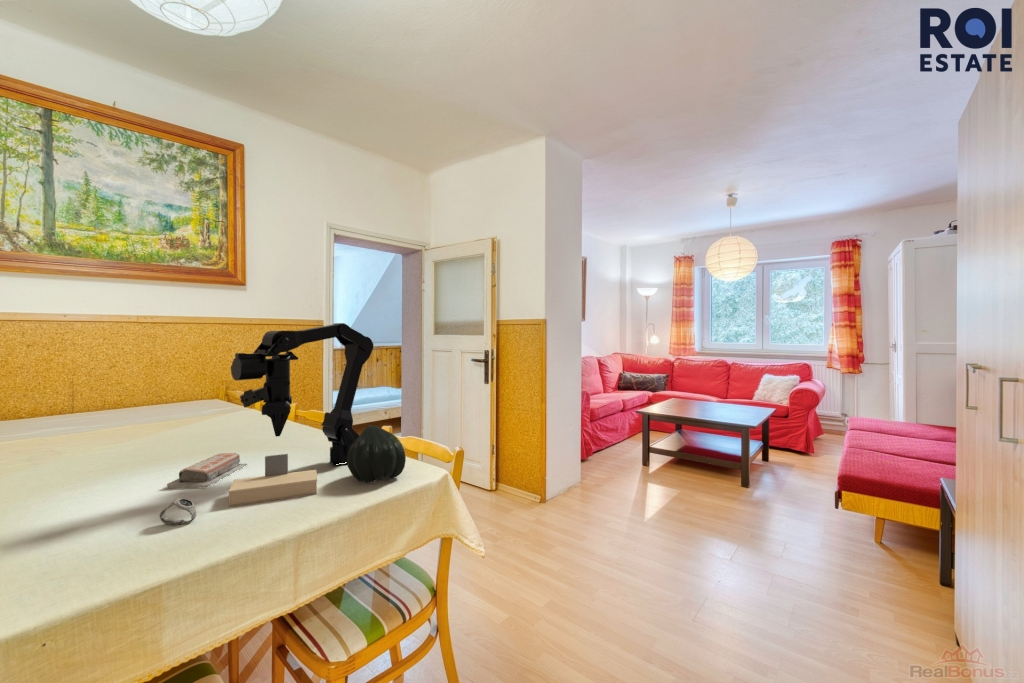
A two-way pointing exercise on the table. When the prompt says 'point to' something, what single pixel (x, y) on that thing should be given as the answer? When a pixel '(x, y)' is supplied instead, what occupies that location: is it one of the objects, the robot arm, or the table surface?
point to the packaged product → (207, 471)
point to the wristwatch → (181, 504)
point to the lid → (274, 476)
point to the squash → (376, 455)
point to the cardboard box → (272, 493)
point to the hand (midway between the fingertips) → (278, 435)
